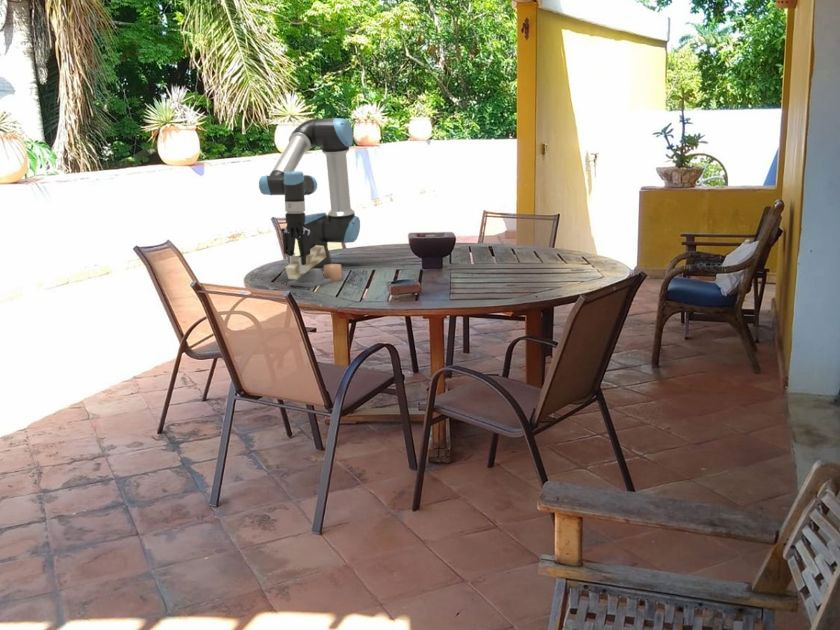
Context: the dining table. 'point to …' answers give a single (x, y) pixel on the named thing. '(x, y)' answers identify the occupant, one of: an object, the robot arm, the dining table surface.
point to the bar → (311, 260)
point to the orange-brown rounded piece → (332, 272)
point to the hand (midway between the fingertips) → (297, 272)
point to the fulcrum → (310, 279)
